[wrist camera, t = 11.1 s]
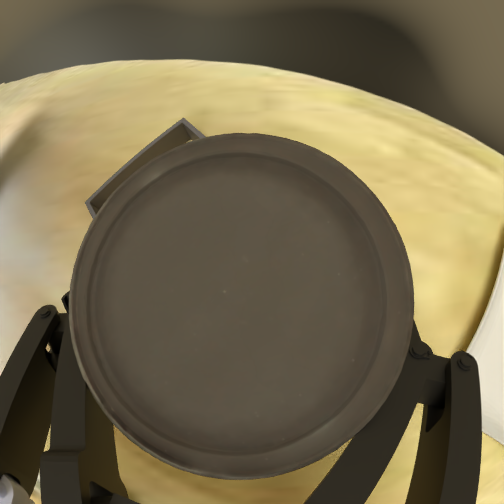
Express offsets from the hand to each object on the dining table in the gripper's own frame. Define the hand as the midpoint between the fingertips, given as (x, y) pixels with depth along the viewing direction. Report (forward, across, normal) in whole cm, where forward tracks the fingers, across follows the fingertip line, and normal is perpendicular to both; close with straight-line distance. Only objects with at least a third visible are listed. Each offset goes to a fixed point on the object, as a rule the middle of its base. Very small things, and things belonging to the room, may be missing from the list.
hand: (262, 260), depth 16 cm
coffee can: (+2, 0, -6) cm, 7 cm away
